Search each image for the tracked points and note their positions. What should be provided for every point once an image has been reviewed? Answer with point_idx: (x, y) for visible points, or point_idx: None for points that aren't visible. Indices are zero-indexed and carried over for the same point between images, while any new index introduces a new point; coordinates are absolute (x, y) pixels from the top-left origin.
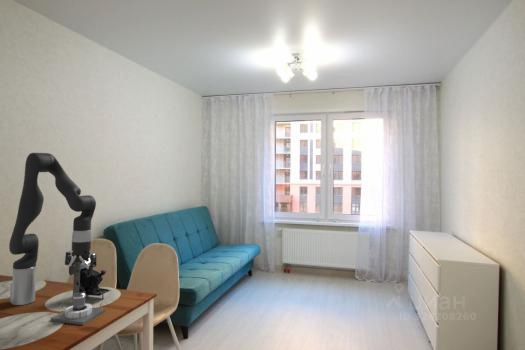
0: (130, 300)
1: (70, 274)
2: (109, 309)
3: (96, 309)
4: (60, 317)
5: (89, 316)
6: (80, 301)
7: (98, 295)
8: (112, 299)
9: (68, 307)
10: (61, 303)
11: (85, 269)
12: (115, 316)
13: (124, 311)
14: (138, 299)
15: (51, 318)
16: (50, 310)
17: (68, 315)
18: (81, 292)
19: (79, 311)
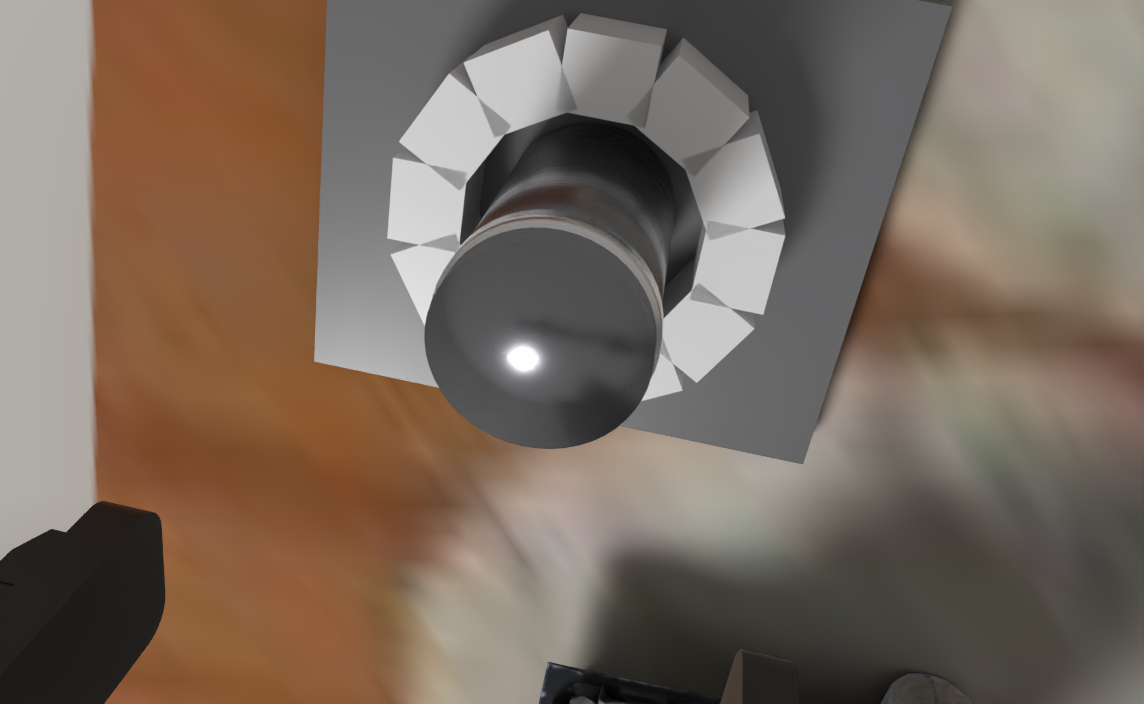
0: (233, 648)
1: (751, 659)
2: (314, 412)
3: (420, 347)
4: (795, 42)
5: (367, 110)
6: (487, 219)
7: (569, 673)
8: (459, 678)
9: (768, 253)
10: (1076, 581)
11: None
12: (100, 210)
13: (93, 360)
14: (162, 671)
15: (934, 3)
16: (1132, 364)
17: (648, 34)
18: (528, 401)
19: (489, 105)
